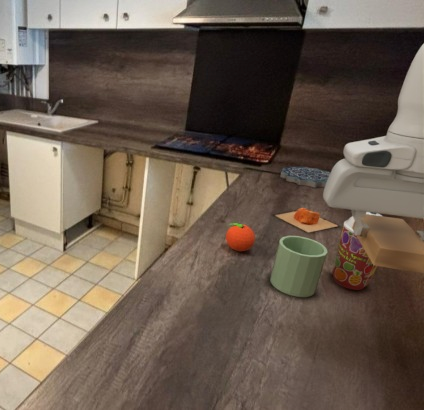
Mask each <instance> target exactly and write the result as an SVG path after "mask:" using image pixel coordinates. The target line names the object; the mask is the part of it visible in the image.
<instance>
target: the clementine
mask: <svg viewBox="0 0 424 410" xmlns="http://www.w3.org/2000/svg"><path fill="white" fill-rule="evenodd" d="M231 225H232V226H231ZM228 226H231V227H229V228H228V230H227V231H226V235H225V241H226V244H227V245H228V247H229V248H231V249H232V250H234V251H236V252H245V251H248V250H249V249H251V248H252V247H253V246H254V244H255V241H256V235H255V232H254V231H253V229H252V228H251V227H250V226H248V225H246V224H242V223H237V222H236V223H235V222H234V223H233V222H232V223H229V224H228V225H226V226H225V228H224V229H226V228H227V227H228Z"/></svg>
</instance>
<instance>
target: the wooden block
mask: <svg viewBox="0 0 424 410" xmlns="http://www.w3.org/2000/svg"><path fill="white" fill-rule="evenodd" d="M383 216H384V215H382V216H376V215H368V214H366V215H365V217H364V218H363V217H361V216H360V218H361V221H362V223H365V224H367V225H368V227H369V228H370V230H369V231H368V233H367V237H361V236H357V238H358V239H359V241H360V243H361V245H362V246H363V248H364V250H365V251H366V253H367V255H368V257H369V258H370V260H371V262H372V264H373V265H375V266H377V267H380V268H381V267H382V268H387V269H393V270H399V271H405V272H410V273H411V272H412V273H416V274H422V275H424V242H423V241H422V240H421V239H420V238H419V237H418V235H416V231H414V230H413V228H412V227H410V225H409V224H408V223H407V222H406V221H405V219H403V218H399V217H392V216H391V217H389V216H384V217H383ZM355 225H356V222H355V221H354V224H353V227H352V229H353V231H354V228H355Z"/></svg>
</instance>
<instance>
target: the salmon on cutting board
mask: <svg viewBox="0 0 424 410" xmlns="http://www.w3.org/2000/svg"><path fill="white" fill-rule="evenodd" d="M274 217H276V218H278V219H280V220H282V221H285V222H287V223H289V224H291V225H293V226H294V227H296V228H298V229H300V230H302V231H305V232H306V233H313V232H317V231H322V230H327V229H331V228H335V227H339V225H337V224H335V223H333V222H331V221H329V220H326V219H324V218H322V217H321V214H320V212H317V211H313V210H309V209H307V208H305V207H300V208H298V209H297V210H296V211H291V212H285V213H280V214H274Z"/></svg>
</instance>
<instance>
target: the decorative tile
mask: <svg viewBox="0 0 424 410" xmlns="http://www.w3.org/2000/svg"><path fill="white" fill-rule="evenodd" d="M330 173H331V171H328V170H323V169H320V168H316V167H315V168H314V167H308V166H304V165H303V166H293V165H291V166H290V167H283V168H282V170H281V172H280V176H279V177H280V178H282V179H285V181H286V182H290V183H294V184H297V185H298V186H308V187H310V188H314V189H316V188H325V185H326V182H327V180H328V177H329V175H330Z"/></svg>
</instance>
